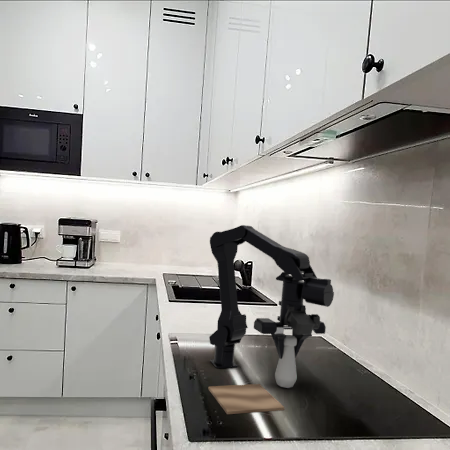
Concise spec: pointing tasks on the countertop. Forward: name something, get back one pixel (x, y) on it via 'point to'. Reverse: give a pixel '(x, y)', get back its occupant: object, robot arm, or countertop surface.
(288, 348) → the salt shaker
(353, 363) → the countertop surface
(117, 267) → the countertop surface
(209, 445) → the countertop surface
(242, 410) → the walnut board
